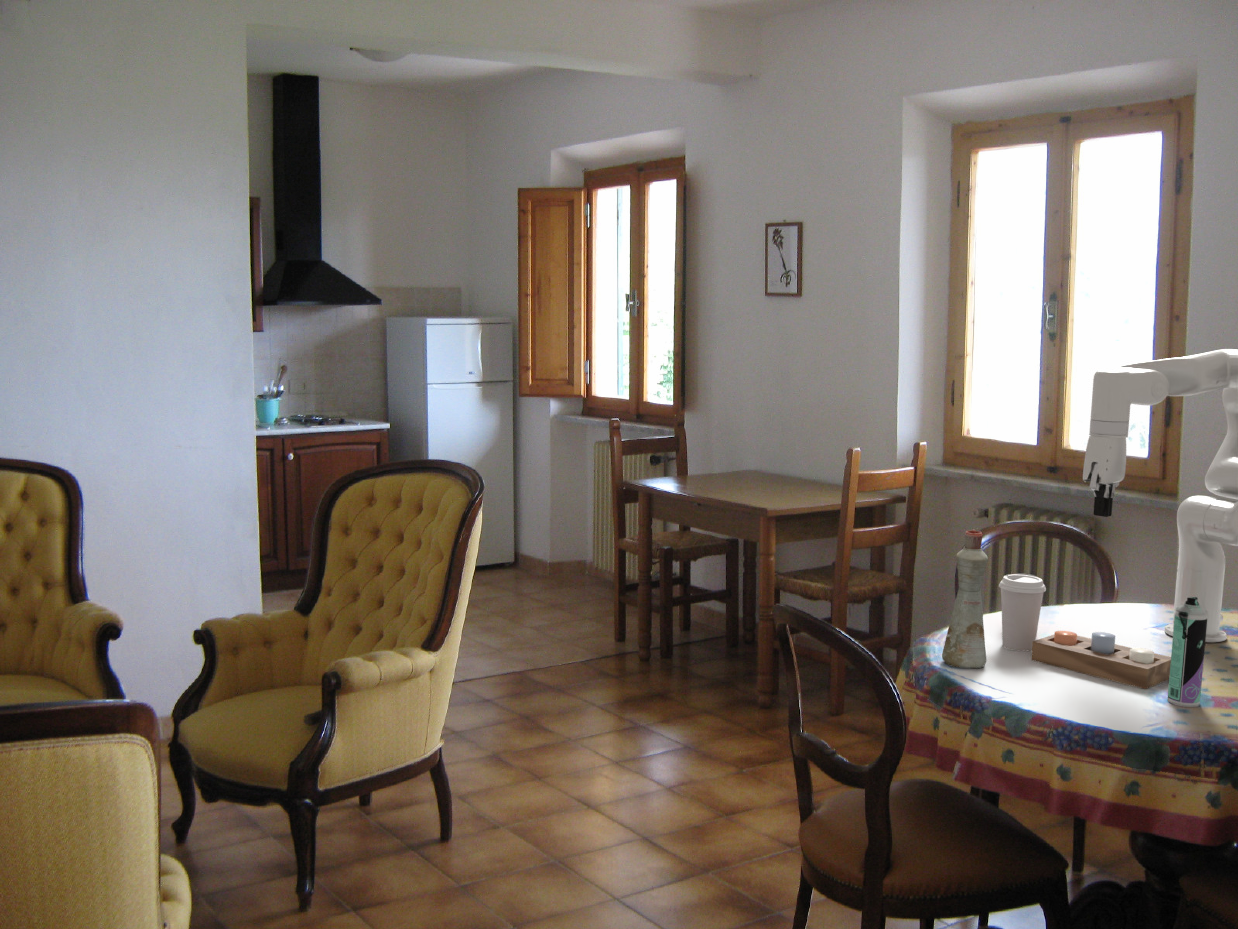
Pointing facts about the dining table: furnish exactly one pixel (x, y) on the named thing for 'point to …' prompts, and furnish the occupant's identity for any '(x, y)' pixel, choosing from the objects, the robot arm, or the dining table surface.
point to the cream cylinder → (1141, 655)
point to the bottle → (968, 608)
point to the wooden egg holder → (1102, 662)
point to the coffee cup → (1020, 610)
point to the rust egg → (1065, 637)
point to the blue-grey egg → (1103, 642)
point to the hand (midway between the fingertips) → (1102, 515)
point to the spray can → (1187, 654)
